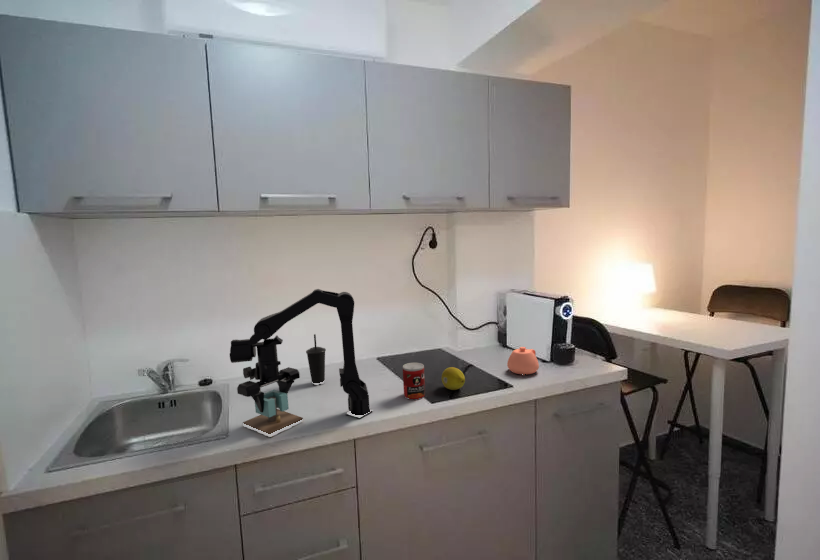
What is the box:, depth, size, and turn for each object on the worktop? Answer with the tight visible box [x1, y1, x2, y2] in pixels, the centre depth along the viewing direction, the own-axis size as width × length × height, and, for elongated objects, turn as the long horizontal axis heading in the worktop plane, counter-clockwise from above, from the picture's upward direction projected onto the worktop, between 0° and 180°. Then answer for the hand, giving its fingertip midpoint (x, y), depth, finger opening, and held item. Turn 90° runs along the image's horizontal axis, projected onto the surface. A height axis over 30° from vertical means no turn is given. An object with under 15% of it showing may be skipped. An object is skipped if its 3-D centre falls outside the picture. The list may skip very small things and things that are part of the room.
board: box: [242, 397, 304, 434], centre depth 127 cm, size 14×12×8 cm
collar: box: [254, 389, 290, 417], centre depth 126 cm, size 7×7×5 cm
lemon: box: [440, 366, 466, 391], centre depth 149 cm, size 11×8×8 cm
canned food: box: [402, 362, 426, 400], centre depth 144 cm, size 8×8×11 cm
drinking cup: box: [305, 333, 326, 383], centre depth 161 cm, size 8×8×20 cm
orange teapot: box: [506, 346, 540, 376], centre depth 164 cm, size 12×14×10 cm
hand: (272, 407), depth 127 cm, fingers closed on collar, 7 cm apart
